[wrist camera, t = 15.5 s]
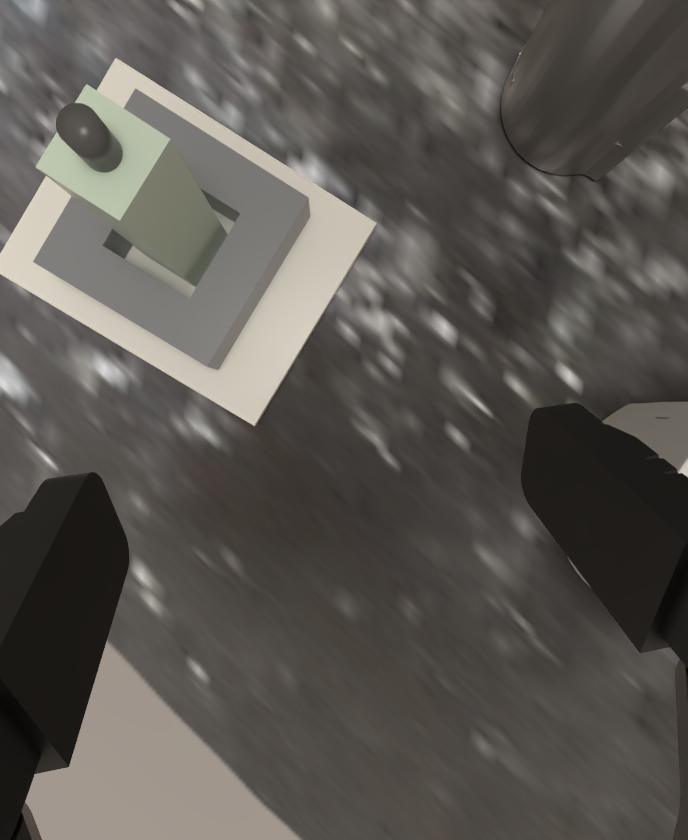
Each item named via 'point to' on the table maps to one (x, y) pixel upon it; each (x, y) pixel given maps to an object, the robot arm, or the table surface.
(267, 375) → the plate
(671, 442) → the roll of tape
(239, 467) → the table surface
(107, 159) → the plug
